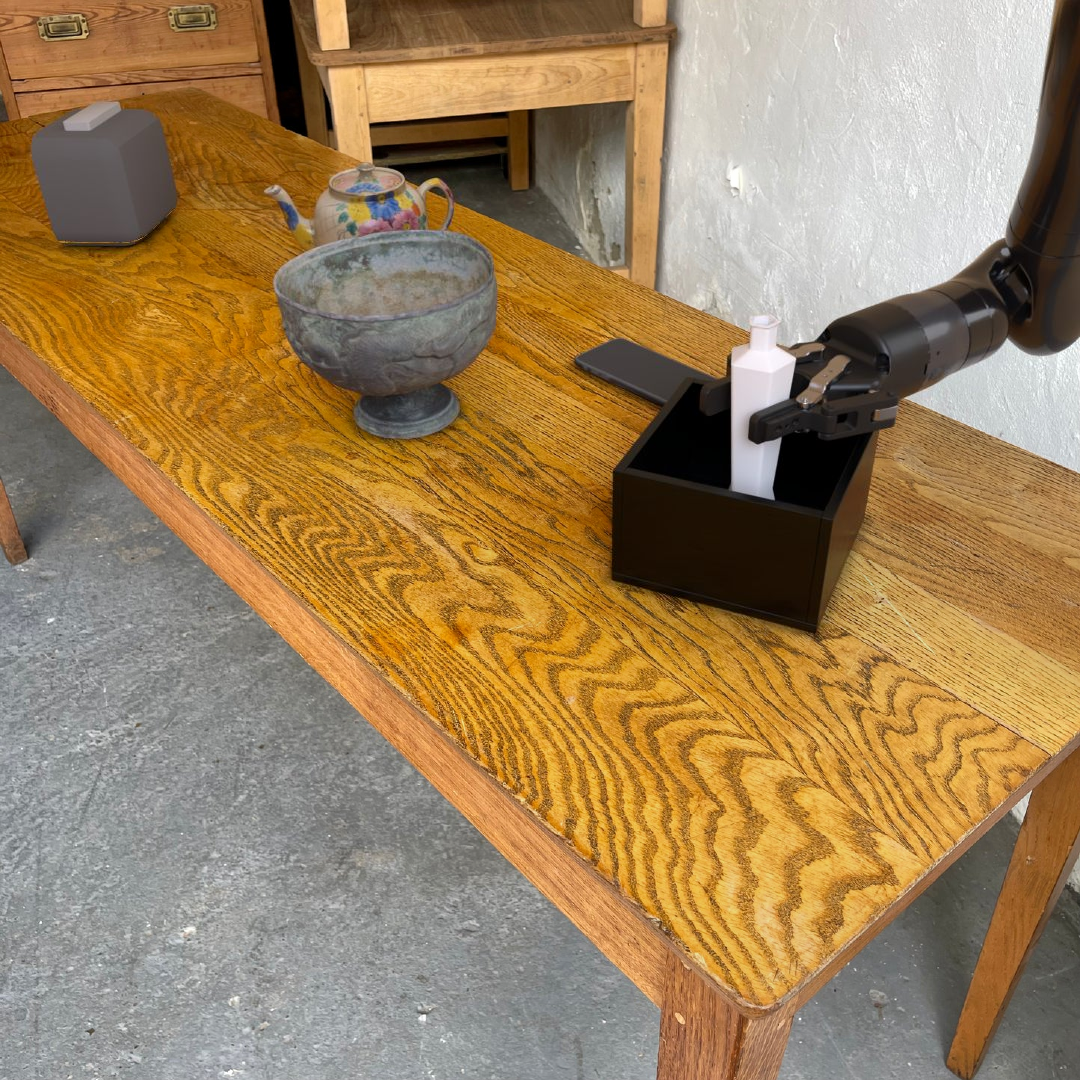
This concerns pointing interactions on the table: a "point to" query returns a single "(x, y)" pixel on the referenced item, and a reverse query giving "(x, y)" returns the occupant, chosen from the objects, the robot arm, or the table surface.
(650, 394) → the smartphone
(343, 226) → the teapot
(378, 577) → the table surface
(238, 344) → the table surface
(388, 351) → the bowl
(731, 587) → the open box
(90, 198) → the alarm clock
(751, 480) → the perfume bottle
